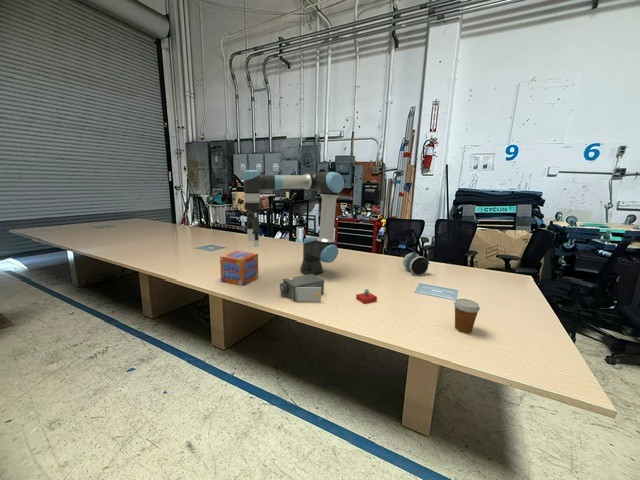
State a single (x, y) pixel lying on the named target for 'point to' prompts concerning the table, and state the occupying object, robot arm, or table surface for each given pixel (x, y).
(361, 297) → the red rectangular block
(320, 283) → the camera body
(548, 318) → the table surface
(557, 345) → the table surface
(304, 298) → the side door
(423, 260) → the gadget
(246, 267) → the game box
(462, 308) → the disposable coffee cup
